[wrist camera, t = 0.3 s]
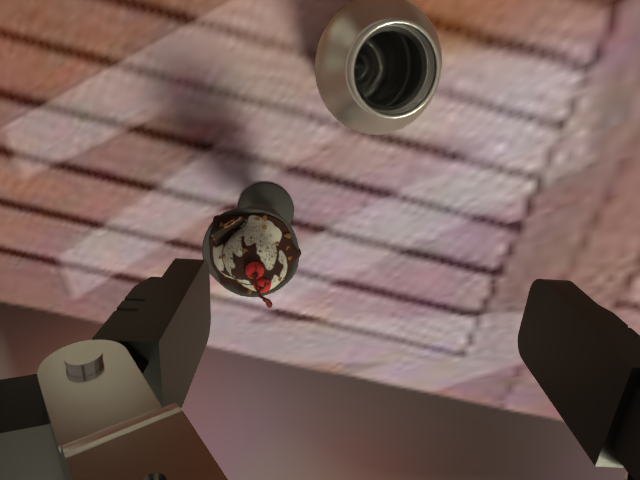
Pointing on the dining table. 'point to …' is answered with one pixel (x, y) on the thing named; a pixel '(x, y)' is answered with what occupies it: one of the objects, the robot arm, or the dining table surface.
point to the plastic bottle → (378, 64)
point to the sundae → (254, 243)
